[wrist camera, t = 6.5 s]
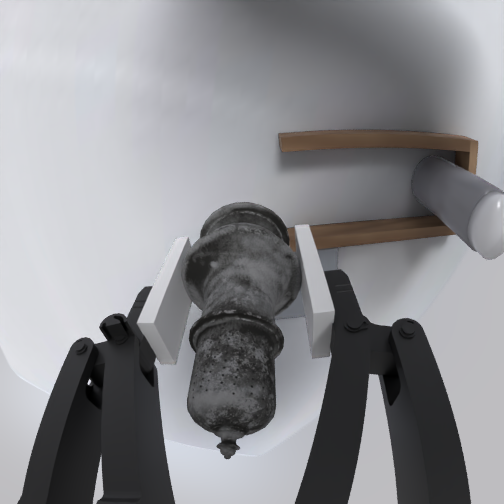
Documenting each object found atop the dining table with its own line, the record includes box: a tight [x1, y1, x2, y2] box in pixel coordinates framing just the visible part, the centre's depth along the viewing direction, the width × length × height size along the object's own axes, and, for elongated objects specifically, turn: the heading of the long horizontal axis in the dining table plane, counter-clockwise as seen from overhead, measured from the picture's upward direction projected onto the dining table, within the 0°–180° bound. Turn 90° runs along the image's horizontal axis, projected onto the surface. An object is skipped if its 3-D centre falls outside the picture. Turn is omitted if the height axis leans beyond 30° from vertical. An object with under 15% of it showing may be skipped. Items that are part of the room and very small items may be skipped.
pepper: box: [412, 156, 504, 260], centre depth 19 cm, size 6×6×11 cm
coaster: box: [275, 247, 338, 319], centre depth 30 cm, size 9×9×1 cm
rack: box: [279, 130, 478, 252], centre depth 23 cm, size 10×20×2 cm, turn 97°
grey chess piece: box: [181, 202, 302, 459], centre depth 11 cm, size 6×6×12 cm
